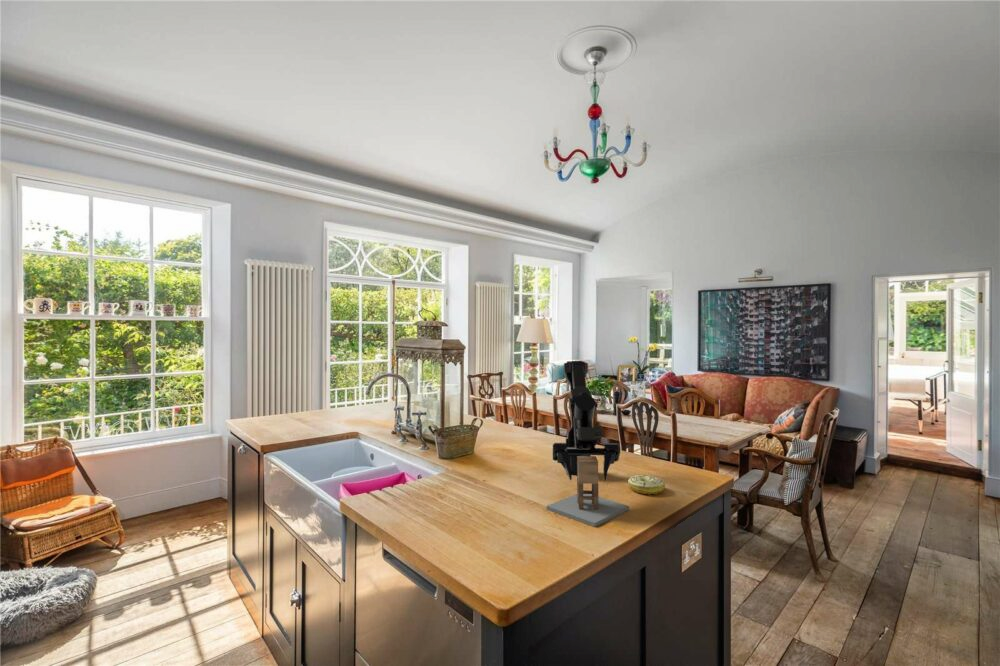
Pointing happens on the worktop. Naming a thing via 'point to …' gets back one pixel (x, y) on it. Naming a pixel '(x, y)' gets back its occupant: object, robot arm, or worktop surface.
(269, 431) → the worktop surface
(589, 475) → the stool
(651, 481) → the decorated donut
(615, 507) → the mat
